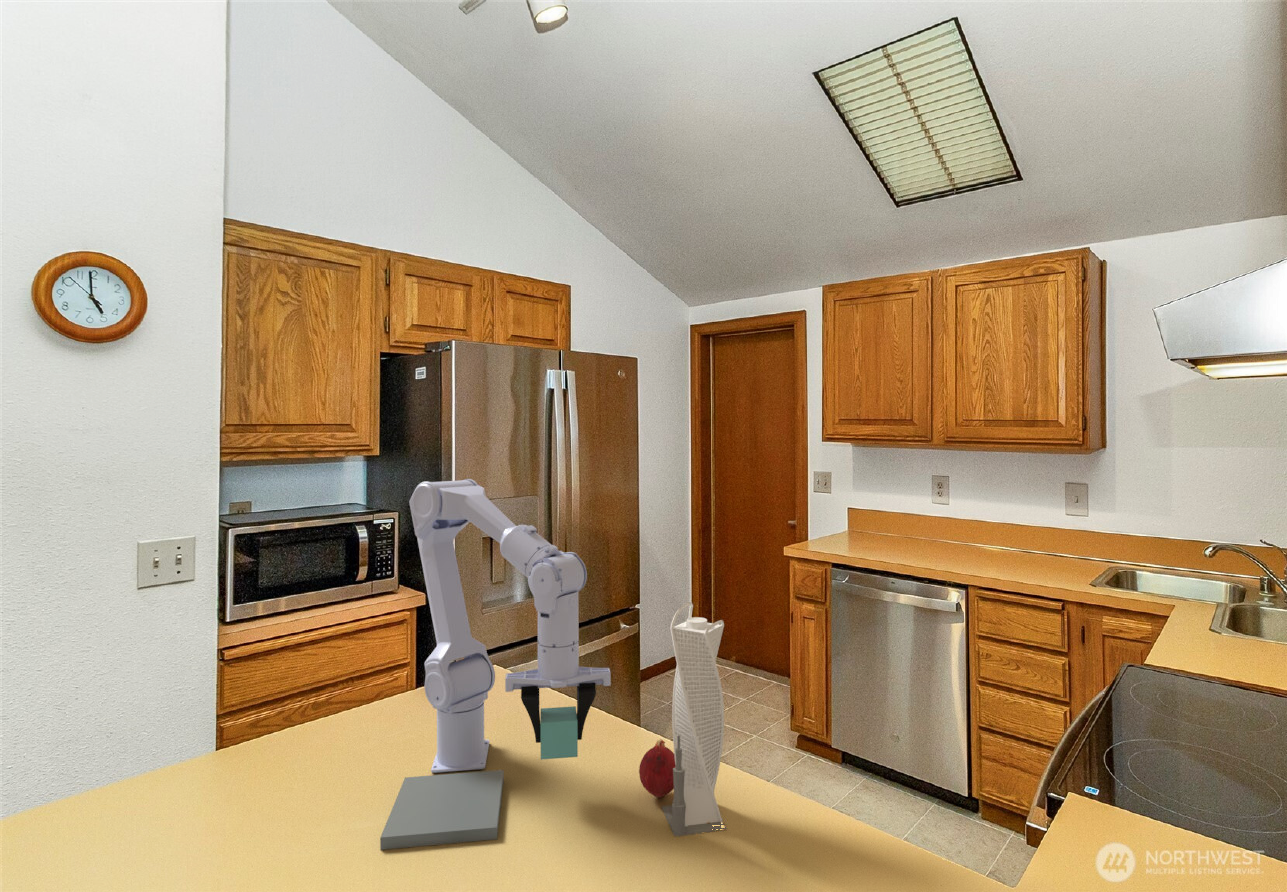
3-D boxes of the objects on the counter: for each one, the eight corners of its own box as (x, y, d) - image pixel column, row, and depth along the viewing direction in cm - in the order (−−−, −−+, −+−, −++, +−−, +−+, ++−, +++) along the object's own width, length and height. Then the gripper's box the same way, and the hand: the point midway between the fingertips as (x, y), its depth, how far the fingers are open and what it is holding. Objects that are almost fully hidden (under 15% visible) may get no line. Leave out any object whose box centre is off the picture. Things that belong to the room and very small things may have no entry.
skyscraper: (659, 803, 93) (658, 602, 93) (714, 797, 95) (714, 599, 95) (674, 838, 85) (673, 617, 85) (735, 830, 87) (734, 614, 86)
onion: (677, 810, 91) (676, 751, 91) (635, 806, 92) (635, 748, 92) (683, 789, 96) (682, 733, 96) (643, 785, 98) (643, 730, 98)
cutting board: (405, 787, 97) (405, 777, 97) (503, 779, 99) (503, 769, 99) (380, 849, 82) (380, 837, 82) (496, 838, 84) (496, 827, 84)
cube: (540, 743, 96) (540, 708, 96) (575, 740, 97) (575, 706, 97) (540, 759, 91) (540, 722, 91) (577, 756, 92) (577, 720, 92)
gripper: (503, 652, 89) (504, 755, 89) (612, 647, 91) (613, 747, 91) (506, 637, 96) (507, 732, 96) (607, 632, 98) (608, 725, 98)
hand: (558, 738), depth 94 cm, fingers closed on cube, 5 cm apart
